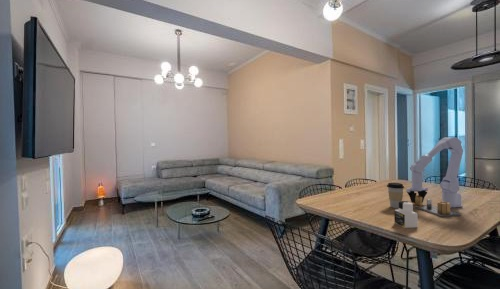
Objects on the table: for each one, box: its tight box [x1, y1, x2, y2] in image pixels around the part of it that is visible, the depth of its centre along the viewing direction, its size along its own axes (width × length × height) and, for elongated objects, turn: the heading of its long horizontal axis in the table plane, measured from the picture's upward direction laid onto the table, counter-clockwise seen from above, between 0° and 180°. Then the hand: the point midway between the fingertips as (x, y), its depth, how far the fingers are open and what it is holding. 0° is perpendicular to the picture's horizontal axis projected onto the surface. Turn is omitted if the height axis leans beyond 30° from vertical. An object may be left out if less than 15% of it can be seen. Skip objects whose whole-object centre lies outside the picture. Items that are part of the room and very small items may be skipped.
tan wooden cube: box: [411, 194, 423, 206], centre depth 153 cm, size 6×6×6 cm
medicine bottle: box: [393, 200, 419, 229], centre depth 117 cm, size 7×7×12 cm
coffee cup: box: [386, 182, 405, 209], centre depth 148 cm, size 9×9×15 cm
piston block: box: [413, 198, 462, 218], centre depth 138 cm, size 12×18×6 cm, turn 9°
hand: (417, 202), depth 153 cm, fingers closed on tan wooden cube, 6 cm apart
